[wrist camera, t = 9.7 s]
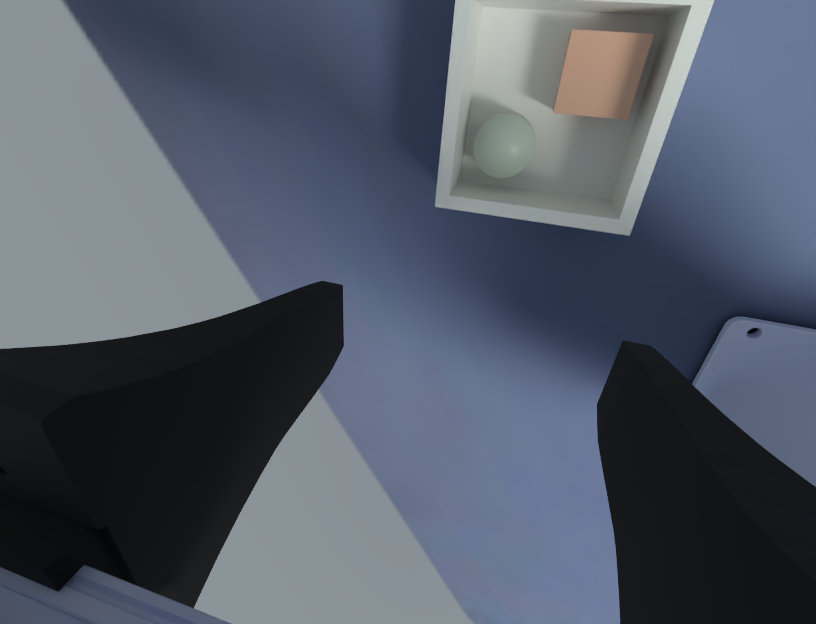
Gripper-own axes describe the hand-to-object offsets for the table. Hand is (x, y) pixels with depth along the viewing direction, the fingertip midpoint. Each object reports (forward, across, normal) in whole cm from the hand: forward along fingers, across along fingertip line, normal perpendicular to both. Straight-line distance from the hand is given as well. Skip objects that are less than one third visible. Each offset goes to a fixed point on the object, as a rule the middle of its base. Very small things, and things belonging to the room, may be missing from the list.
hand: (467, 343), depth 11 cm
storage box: (+9, -1, -5) cm, 11 cm away
